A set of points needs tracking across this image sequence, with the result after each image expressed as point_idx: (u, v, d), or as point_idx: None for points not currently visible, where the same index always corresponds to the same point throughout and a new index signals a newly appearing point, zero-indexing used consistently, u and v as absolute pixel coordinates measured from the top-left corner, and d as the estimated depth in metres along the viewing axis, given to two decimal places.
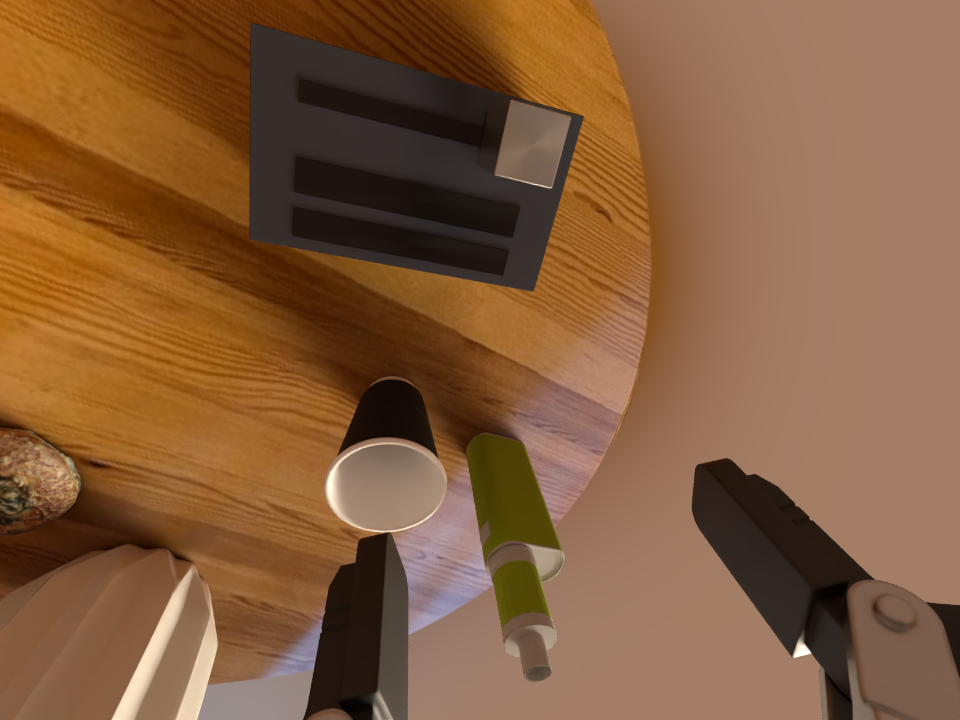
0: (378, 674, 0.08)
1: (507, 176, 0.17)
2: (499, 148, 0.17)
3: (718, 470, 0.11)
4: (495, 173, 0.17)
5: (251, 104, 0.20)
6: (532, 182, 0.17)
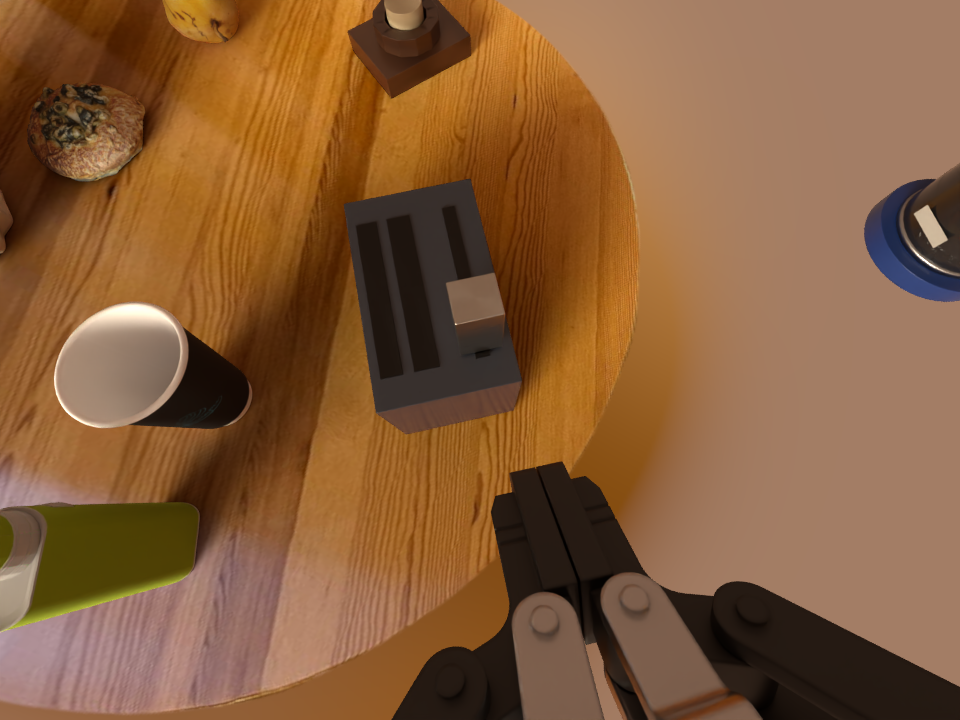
0: (573, 570, 0.09)
1: (448, 291, 0.23)
2: None
3: (548, 472, 0.12)
4: (447, 283, 0.23)
5: (428, 187, 0.31)
6: (452, 309, 0.22)
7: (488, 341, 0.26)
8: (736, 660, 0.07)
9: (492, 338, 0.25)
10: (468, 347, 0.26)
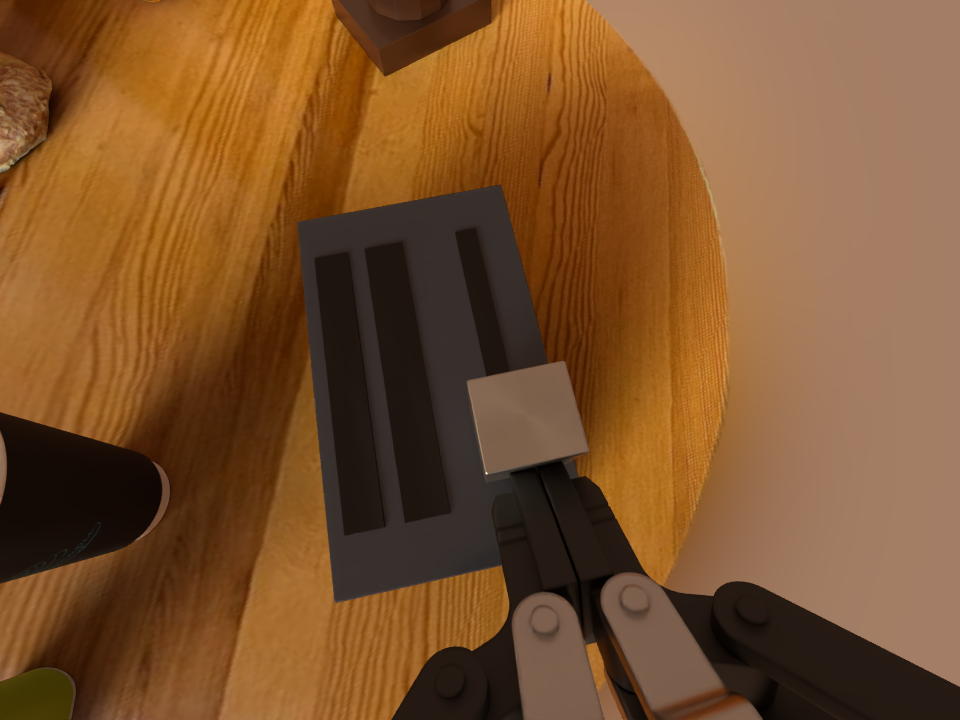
0: (573, 569, 0.09)
1: (472, 399, 0.11)
2: (502, 373, 0.11)
3: (548, 472, 0.12)
4: (469, 381, 0.11)
5: (434, 197, 0.19)
6: (481, 440, 0.11)
7: None
8: (736, 660, 0.07)
9: None
10: (501, 478, 0.14)
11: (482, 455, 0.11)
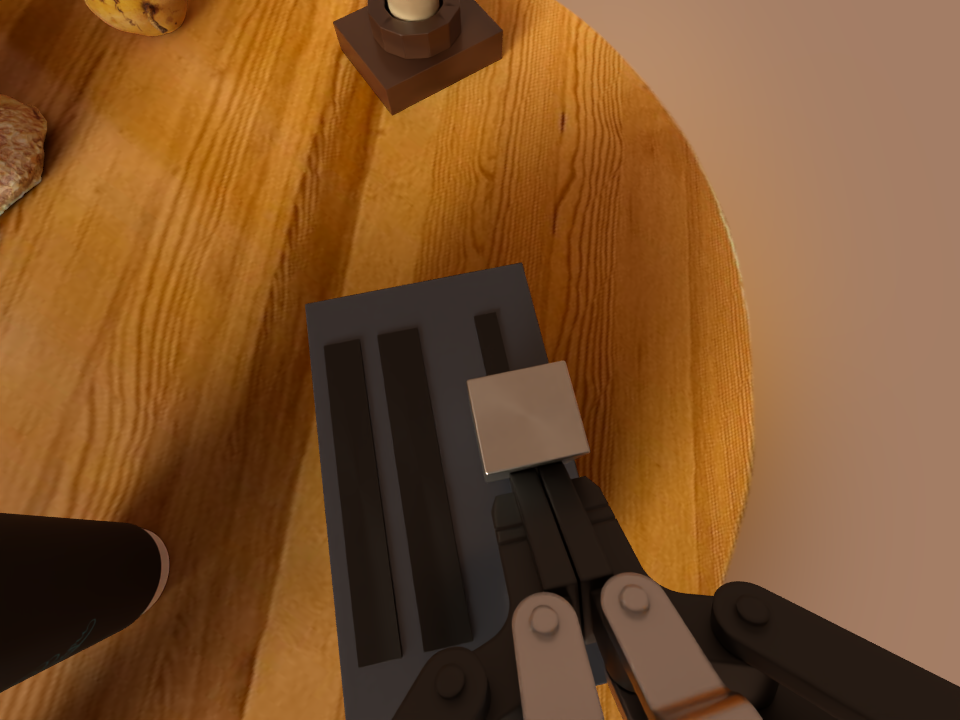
0: (573, 569, 0.09)
1: (472, 398, 0.11)
2: (502, 373, 0.11)
3: (548, 472, 0.12)
4: (469, 380, 0.11)
5: (450, 277, 0.18)
6: (481, 439, 0.11)
7: None
8: (736, 660, 0.07)
9: None
10: (501, 478, 0.14)
11: (482, 455, 0.11)
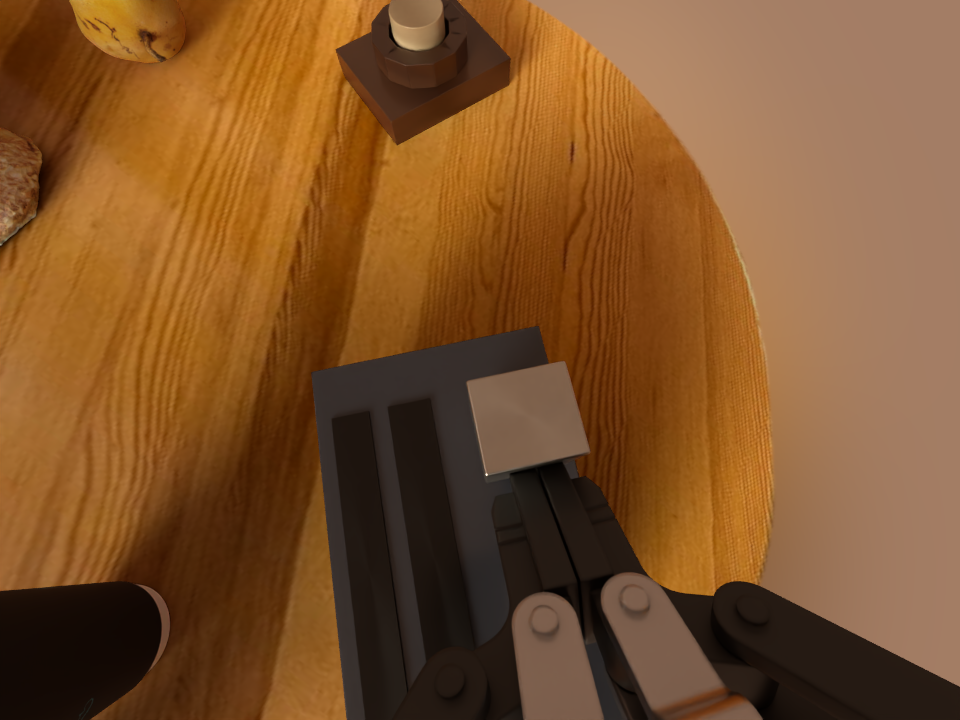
0: (572, 569, 0.09)
1: (472, 399, 0.11)
2: (502, 374, 0.11)
3: (548, 472, 0.12)
4: (469, 381, 0.11)
5: (464, 342, 0.17)
6: (481, 440, 0.11)
7: None
8: (736, 660, 0.07)
9: None
10: (501, 478, 0.14)
11: (482, 456, 0.11)
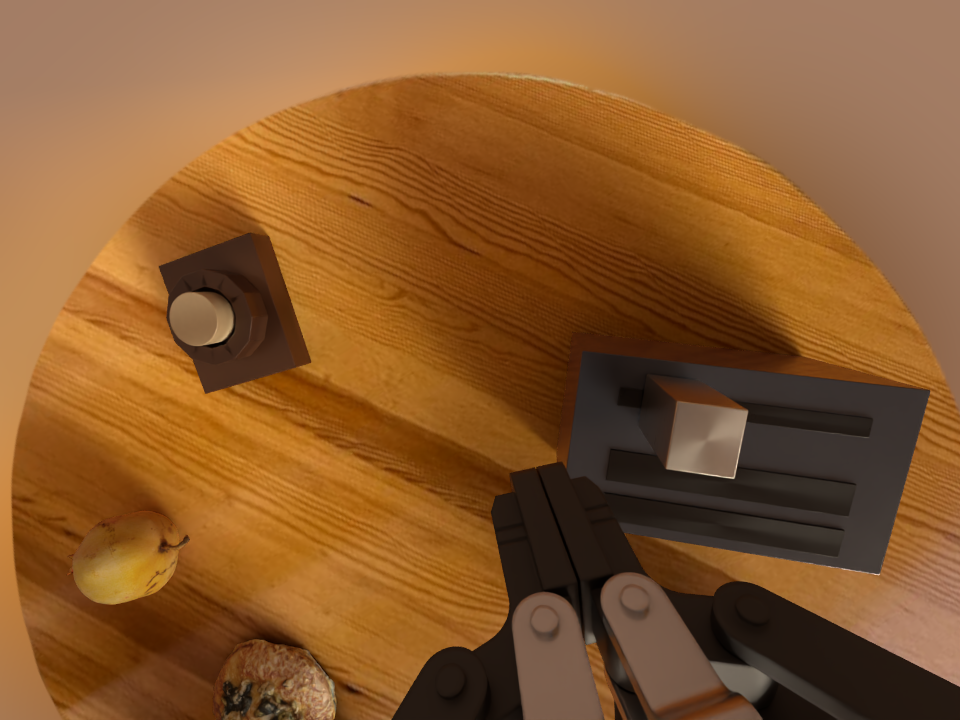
0: (573, 569, 0.09)
1: (680, 470, 0.16)
2: (669, 443, 0.16)
3: (548, 472, 0.12)
4: (666, 467, 0.16)
5: (575, 410, 0.22)
6: (710, 474, 0.16)
7: None
8: (736, 660, 0.07)
9: None
10: None
11: (721, 476, 0.16)
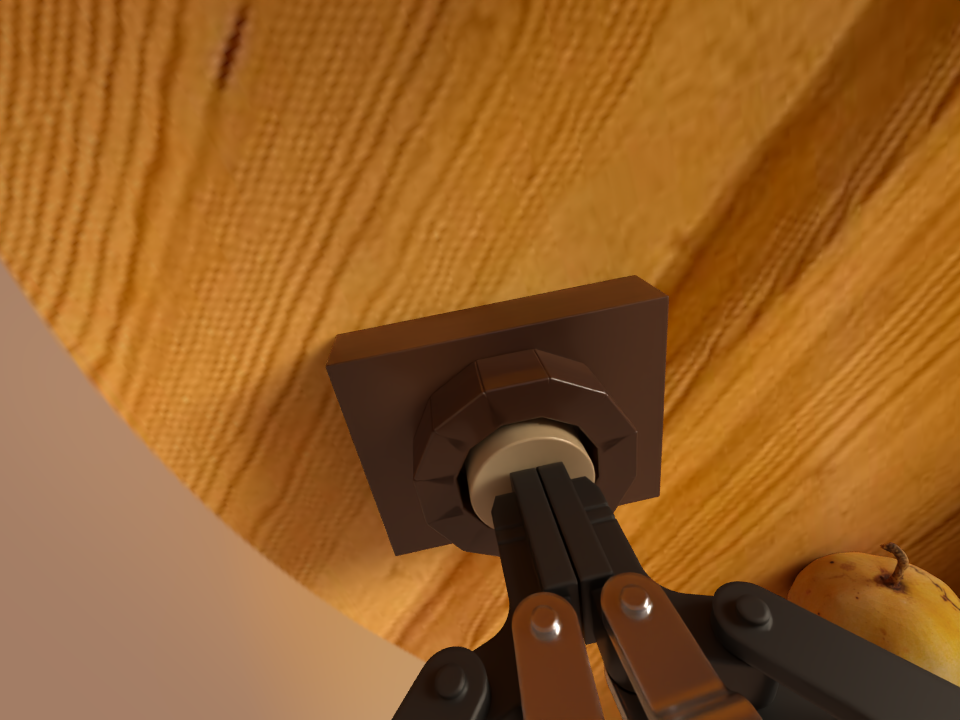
0: (573, 569, 0.09)
1: None
2: None
3: (548, 472, 0.12)
4: None
5: None
6: None
7: None
8: (736, 660, 0.07)
9: None
10: None
11: None
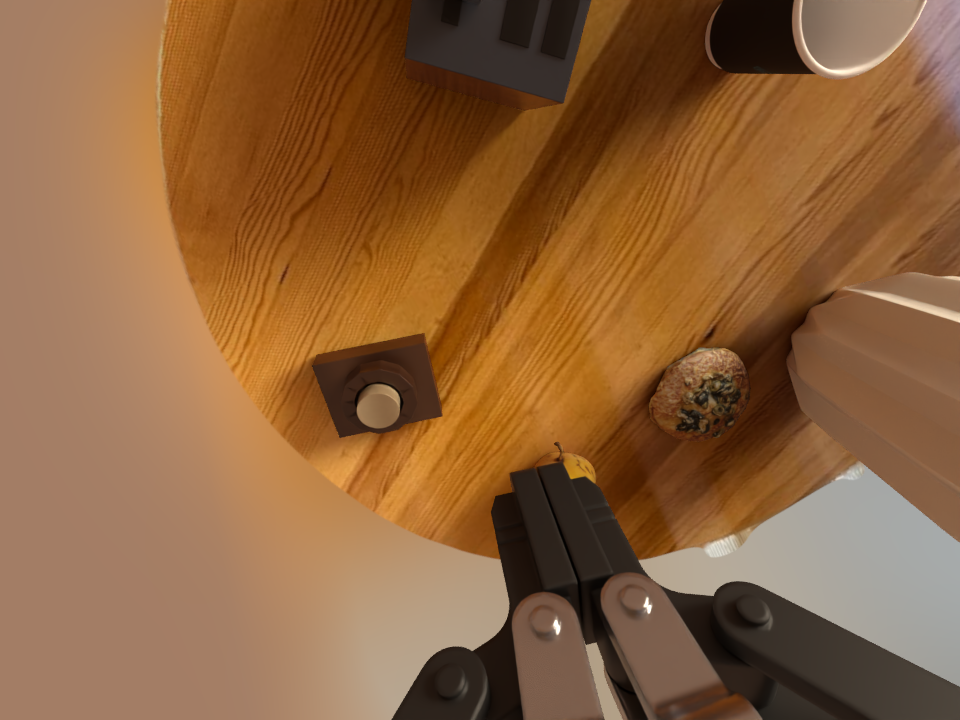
0: (573, 569, 0.09)
1: None
2: None
3: (548, 472, 0.12)
4: None
5: (460, 72, 0.24)
6: None
7: None
8: (736, 660, 0.07)
9: None
10: None
11: None
